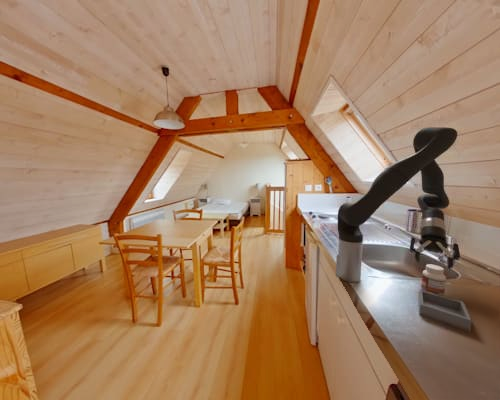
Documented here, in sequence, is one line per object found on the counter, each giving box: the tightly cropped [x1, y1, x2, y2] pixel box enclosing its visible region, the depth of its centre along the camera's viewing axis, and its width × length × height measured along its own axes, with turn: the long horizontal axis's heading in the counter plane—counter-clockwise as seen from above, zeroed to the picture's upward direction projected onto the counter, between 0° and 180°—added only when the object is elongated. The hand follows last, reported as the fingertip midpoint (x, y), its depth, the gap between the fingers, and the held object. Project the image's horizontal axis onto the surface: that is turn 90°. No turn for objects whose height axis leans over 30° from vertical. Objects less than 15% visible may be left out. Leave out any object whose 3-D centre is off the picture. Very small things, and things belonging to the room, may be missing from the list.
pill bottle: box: [420, 263, 447, 297], centre depth 68 cm, size 6×6×11 cm
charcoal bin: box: [417, 289, 472, 333], centre depth 59 cm, size 11×11×4 cm
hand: (433, 264), depth 71 cm, fingers open, 8 cm apart
